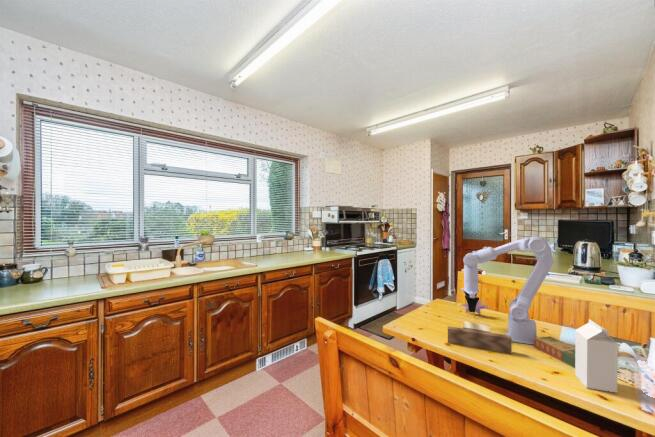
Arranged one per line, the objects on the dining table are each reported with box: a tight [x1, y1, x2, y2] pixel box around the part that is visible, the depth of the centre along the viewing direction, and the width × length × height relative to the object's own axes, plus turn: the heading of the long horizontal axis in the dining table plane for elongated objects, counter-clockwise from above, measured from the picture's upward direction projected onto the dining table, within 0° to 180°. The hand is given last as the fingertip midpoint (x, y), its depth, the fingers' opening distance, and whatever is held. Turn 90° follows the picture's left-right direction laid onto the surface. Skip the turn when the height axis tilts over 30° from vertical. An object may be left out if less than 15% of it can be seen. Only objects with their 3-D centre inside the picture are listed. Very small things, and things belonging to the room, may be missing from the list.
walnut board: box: [447, 325, 513, 355], centre depth 107 cm, size 22×2×6 cm, turn 65°
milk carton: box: [574, 318, 619, 394], centre depth 83 cm, size 7×7×19 cm
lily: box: [460, 299, 490, 318], centre depth 139 cm, size 12×12×10 cm
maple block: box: [462, 320, 491, 333], centre depth 116 cm, size 10×7×5 cm
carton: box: [533, 335, 575, 369], centre depth 99 cm, size 8×16×4 cm, turn 12°
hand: (471, 309), depth 123 cm, fingers open, 7 cm apart
